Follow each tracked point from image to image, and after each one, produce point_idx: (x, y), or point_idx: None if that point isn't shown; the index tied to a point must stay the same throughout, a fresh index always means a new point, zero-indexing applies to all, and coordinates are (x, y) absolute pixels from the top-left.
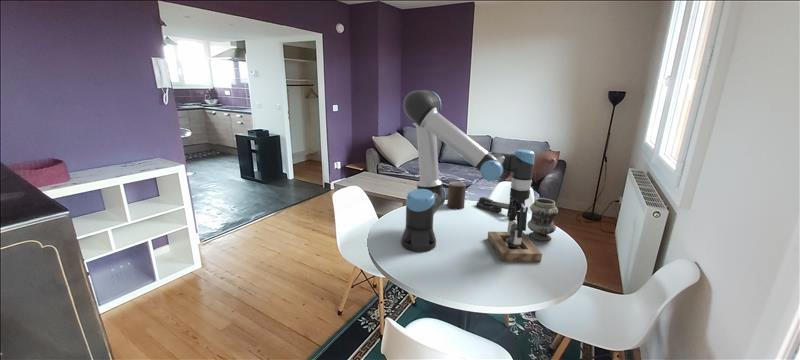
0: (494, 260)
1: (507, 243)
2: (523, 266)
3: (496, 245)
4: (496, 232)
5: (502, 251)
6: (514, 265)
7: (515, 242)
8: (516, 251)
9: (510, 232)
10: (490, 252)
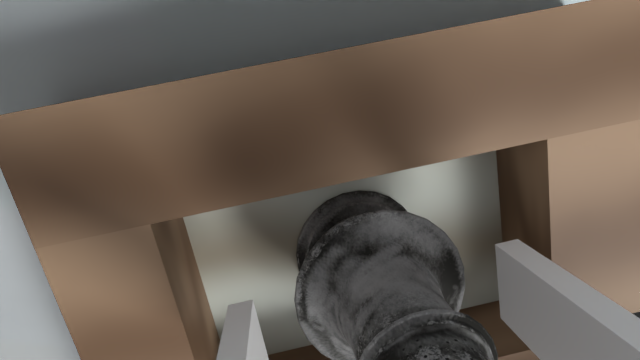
0: (40, 33)
1: (350, 217)
2: (24, 309)
3: (246, 68)
4: (622, 109)
5: (39, 128)
6: (10, 233)
7: (228, 332)
8: (110, 301)
9: (411, 321)
10: (227, 7)
